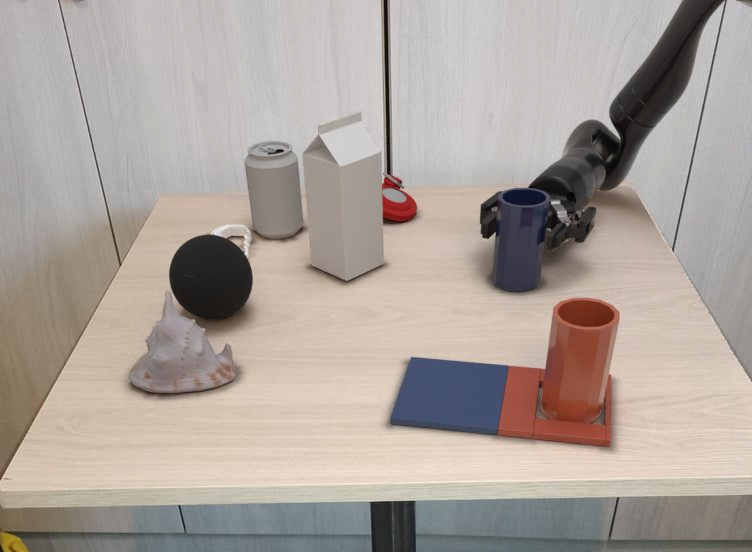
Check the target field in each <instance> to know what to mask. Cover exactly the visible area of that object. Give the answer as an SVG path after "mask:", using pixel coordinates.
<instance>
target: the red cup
mask: <svg viewBox="0 0 752 552" xmlns="http://www.w3.org/2000/svg"><path fill="white" fill-rule="evenodd" d="M620 319H621V318H620V311H619V310H618V309H617V308H616V307H615V306H614V305H613V304H611V303H609V302H606V301H604V300H601V299H597V298H592V297H571V298H567V299H564V300H561V301H559V302H558V303H557V304H555V305H554V306H552V314H551V321H550V329H549V336H548V337H549V338H548V344H547V350H546V351H547V352H546V360H545V367H544V369H545V374H544V381H543V387H542V390H541V397H540V404H539V405H540V411H541V412H542V414H543V415H544V417H546V418H547V419H549V420H559V421H569V422H579V423H589V424H592V422H594V421H596V420H597V419H598V418H599V417H600V415H601V414H602V411H603V406H604V402H605V391H606V386H607V381H608V376H609V374H610V370H611V365H612V360H613V356H614V350H615V345H616V339H617V334H618V330H619V329H618V328H619V324H620Z"/></svg>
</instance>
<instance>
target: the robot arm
mask: <svg viewBox="0 0 752 552" xmlns="http://www.w3.org/2000/svg"><path fill="white" fill-rule="evenodd" d="M725 1H726V0H681V2H680V3H679V5H678V7H677V9H676V10H675V12H674V14H673V15H672V17H671V19H670V21H669V22H668V24H667V25H666V27H665V29H664V31H663V33H662V34H661V36H660V38H659V39H658V40H657V42H656V43H655V45H654V46H653V48H652V50H651V51H650V52H649V54H648V55H647V57H646V58H645V59H644V60H643V62H642V63H641V65H640V66H639V67H638V68H637V69H636V71H634V73H633V74H632V75H631V77H630V78H629V80H628V81H627V82H626V83H625V84H624V85H623V87H622V88H621V89H620V91H619V92H618V93H617V95H616V96H615V97H614V98H613V100H612V101H611V102H610V105H609V107H608V117H609V119H610V120H609V121H610V122H611V124H612V126H613V128H614V129H615V131H616V133H617V134H618V136H617V134H615V133H614V132H613V131H612V130H611V129H610V128H609V127H608V126H607V125H606V124H605V123H604V122H602V121H601V120H598V119H594V118H593V119H586V120H584V121H582V122H581V123H579V124H578V125H577V126H576V127H575V128H574V129H573V130H572V132H571V133H570V135H569V136H568V138H567V139H566V142H565V144H564V146H563V149H562V153H561V157H560V159H558V160H556V161H554V162H553V163H552V164H550V165H548V167H547V168H546V169H545V170H543V172H541V173H540V174H539V175H538V176H537V177H536V178H535V179H534V180H533V181H531V183H530V184H529V185H528V187H527V188H533V189H538V190H541V191H544V192H546V193H547V194H548V195H549V196H550V203H549V212H548V220H547V228H546V232H548V234H547V236H546V243H545V244H546V245H545V251H547V252H553V251H554V250H555V249H560V248H561V247H562V246H563V244H565V243H568V242H569V241H570V240H572V239H573V241H574V242H575V243H578V244H582V243H584V242H585V241H586V239H587V238H588V236H589V235H590V234H591V232H592V231H593V229H594V227H595V222H596V215H597V210H598V209H597V207H596V206H593V205H591V206H588V204H589V203H590V201H591V199H592V198H593V197H594V196H595V194H596V193H597V192H599V191H600V192H608V191H612V190H614V189H616V188H618V187H619V186H620V185H621V184H622V183H623V182H624V181H625V180H626V178H627V177H628V175H629V173H630V171H631V170H632V167H633V165H634V163H635V161H636V159H637V157H638V156H639V155H638V154H639V152H640V151H641V148H642V147H643V145H644V143H645V142H646V140H647V138H648V137H649V136H650V134H651V133H652V131H654V129H655V128H656V127H657V126H658V124H659V123H660V122H661V121H662V120H663V119H664V118H665V117H666V116H667V114H668V113H669V112H670V111H671V110H672V108H674V106H676V104H677V103H678V101H680V99H681V97H682V96H683V95H684V94H685V91H686V89H687V87H688V86H689V83H690V81H691V77H692V75H693V71H694V67H695V62H696V58H697V52H698V48H699V45H700V40H701V38H702V34H703V32H704V29H705V27H706V25H707V24H708V22H709V20H710V18H711V17H712V16H713V14H715V12H716V11H717V10H718V9H719V8H720V6H722V5H723V4H724V2H725ZM735 1H736V2H737V3H738V2H739V3H741V4H743V5H745V6H747V7H749V8H751V9H752V0H735ZM503 191H504V190H499V191H497V192H495V193H494V194H493V195H492V196H490V197H489V198H488V199H486V200H485V201H483V202H482V203H481V204H480V211H479V225H480V235H481V236H482V237H481V238H482V239H486V240H489V239H490V238H491V237H492V236H493V235H494V234H495V233H496V220H497V207H498V197H499V194H500V193H501V192H503ZM585 208H586V209H585ZM574 221H576V223H573V222H574Z"/></svg>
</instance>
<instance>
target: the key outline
mask: <svg viewBox="0 0 752 552" xmlns="http://www.w3.org/2000/svg"><path fill="white" fill-rule="evenodd" d="M210 235H217V236H221V237H224V238H226V239H229V238H230V237H232V236H233V237H243V240H244V241H243V242H242V243H243V252H244V254H245V255H246V257H247V259H248V260H250V255H249V253H250V252H249V251H250V247H251V242H253V238H252V232H251V230H250V229H249V228H248V227H247V225H246V224H233V223H231V224H229V223H225V224H223V225H221V226H218V227H217V228H215V229H213V230H212V231H211V232H210Z"/></svg>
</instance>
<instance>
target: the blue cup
mask: <svg viewBox="0 0 752 552" xmlns="http://www.w3.org/2000/svg"><path fill="white" fill-rule="evenodd" d="M502 191H503V192H501V193H500V194H499V197H498V207H497V220H496V232H495V233H494V234H495V235H494V247H493V260H492V262H493V263H492V276H491V280H492V284H493V285H494V286H495V287H496V288H498V289H500V290H503V291H507V292H511V293H513V292H514V293H521V292H522V293H523V292H529V291H532V290H534V289H536V288H537V287H539V285H540V284H541V277H542V271H543V262H544V261H543V259H544V252H545V246H546V245H545V244H546V238H547V236H546V235H547V231H546V228H547V220H548V212H549V203H550V196H549V195H548V194H547V193H546V192H544V191H541V190H538V189H533V188H528V187H513V188H509V189H505V190H502Z"/></svg>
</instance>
